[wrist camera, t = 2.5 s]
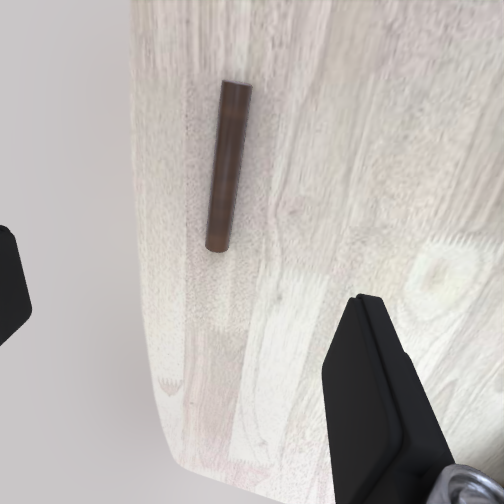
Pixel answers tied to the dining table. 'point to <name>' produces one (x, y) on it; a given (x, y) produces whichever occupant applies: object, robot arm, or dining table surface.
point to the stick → (227, 162)
